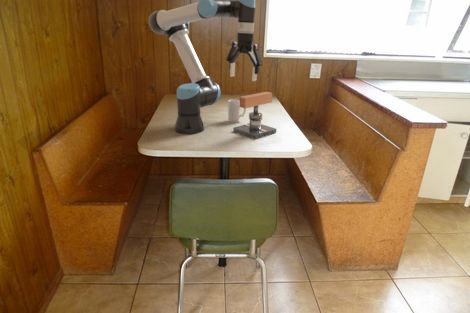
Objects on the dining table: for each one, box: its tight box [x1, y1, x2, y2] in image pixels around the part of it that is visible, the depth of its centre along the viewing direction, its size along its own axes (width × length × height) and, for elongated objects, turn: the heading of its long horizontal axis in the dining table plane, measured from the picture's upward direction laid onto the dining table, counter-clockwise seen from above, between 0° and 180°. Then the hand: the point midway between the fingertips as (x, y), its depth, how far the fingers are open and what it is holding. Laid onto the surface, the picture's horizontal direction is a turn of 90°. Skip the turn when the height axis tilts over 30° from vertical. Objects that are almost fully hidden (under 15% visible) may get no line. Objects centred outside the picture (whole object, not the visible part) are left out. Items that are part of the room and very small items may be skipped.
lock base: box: [232, 119, 277, 140], centre depth 178 cm, size 16×16×7 cm
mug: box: [227, 98, 247, 124], centre depth 194 cm, size 10×7×12 cm, turn 87°
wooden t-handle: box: [239, 91, 273, 121], centre depth 174 cm, size 7×20×12 cm, turn 134°
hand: (243, 78), depth 166 cm, fingers open, 13 cm apart
